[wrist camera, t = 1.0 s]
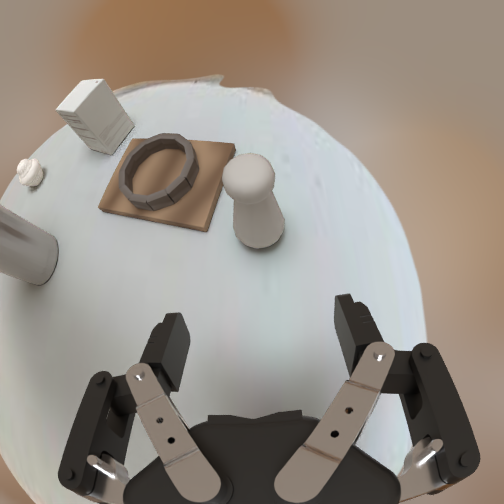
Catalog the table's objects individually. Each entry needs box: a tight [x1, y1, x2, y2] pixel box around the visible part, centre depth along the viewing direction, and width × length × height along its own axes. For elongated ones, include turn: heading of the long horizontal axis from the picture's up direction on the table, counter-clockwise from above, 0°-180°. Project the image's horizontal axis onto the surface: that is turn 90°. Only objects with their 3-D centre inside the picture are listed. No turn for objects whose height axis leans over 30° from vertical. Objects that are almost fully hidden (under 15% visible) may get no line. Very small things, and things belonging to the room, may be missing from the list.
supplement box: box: [56, 79, 134, 155], centre depth 36 cm, size 7×7×13 cm
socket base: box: [98, 133, 236, 232], centre depth 35 cm, size 18×13×4 cm
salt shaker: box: [222, 153, 285, 249], centre depth 27 cm, size 6×6×13 cm
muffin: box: [17, 159, 43, 186], centre depth 39 cm, size 6×6×7 cm
